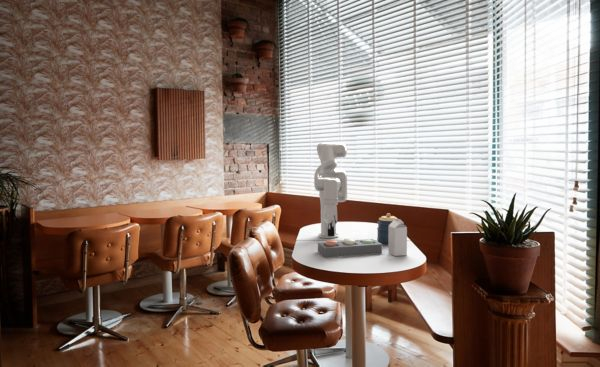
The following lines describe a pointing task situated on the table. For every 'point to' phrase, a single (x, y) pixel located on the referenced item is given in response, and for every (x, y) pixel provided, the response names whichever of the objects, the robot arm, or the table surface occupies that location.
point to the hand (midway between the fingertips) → (331, 236)
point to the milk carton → (397, 238)
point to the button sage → (367, 241)
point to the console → (349, 249)
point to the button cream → (349, 241)
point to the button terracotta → (330, 243)
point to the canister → (384, 228)
